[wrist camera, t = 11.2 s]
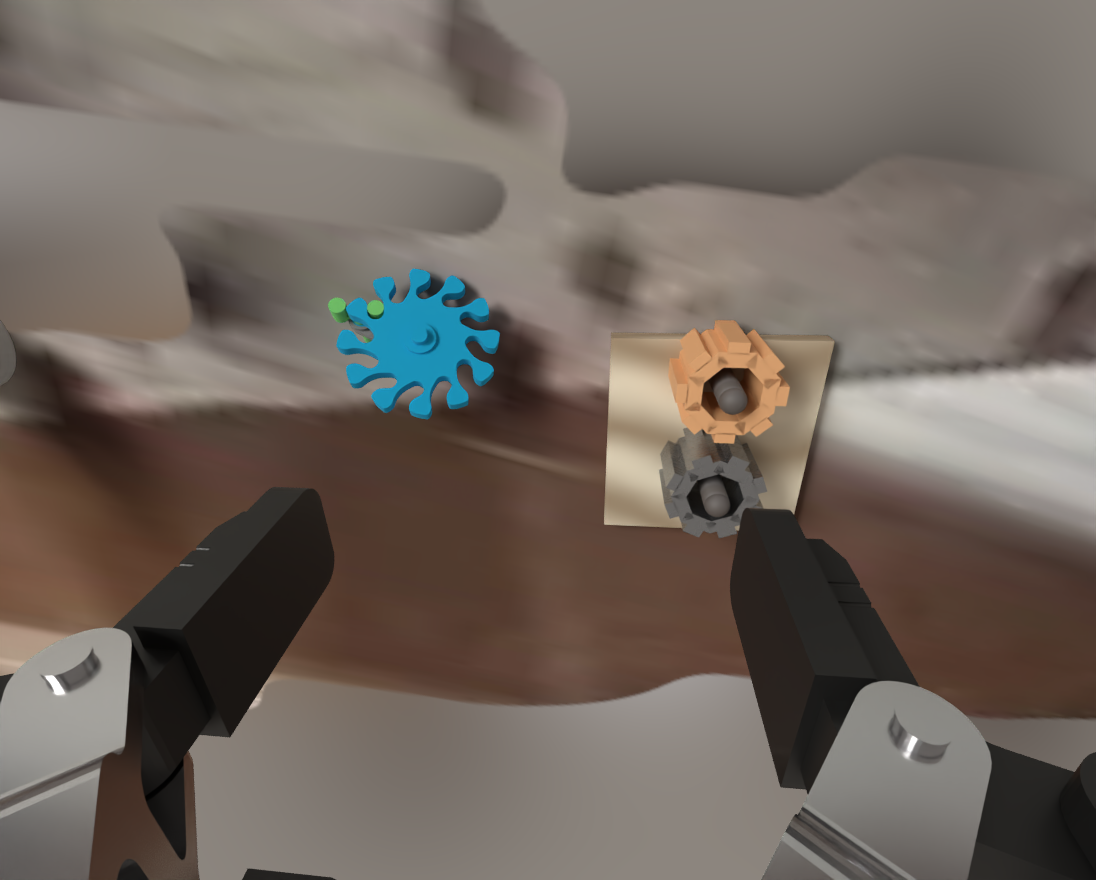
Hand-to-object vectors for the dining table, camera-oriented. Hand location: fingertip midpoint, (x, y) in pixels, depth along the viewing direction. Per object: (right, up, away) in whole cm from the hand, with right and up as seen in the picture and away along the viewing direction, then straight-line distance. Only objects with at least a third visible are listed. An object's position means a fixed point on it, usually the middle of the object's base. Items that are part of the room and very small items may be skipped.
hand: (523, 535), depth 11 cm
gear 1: (+12, +7, +26) cm, 29 cm away
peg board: (+12, +2, +30) cm, 32 cm away
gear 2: (+12, 0, +29) cm, 32 cm away
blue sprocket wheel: (-8, +10, +28) cm, 31 cm away
